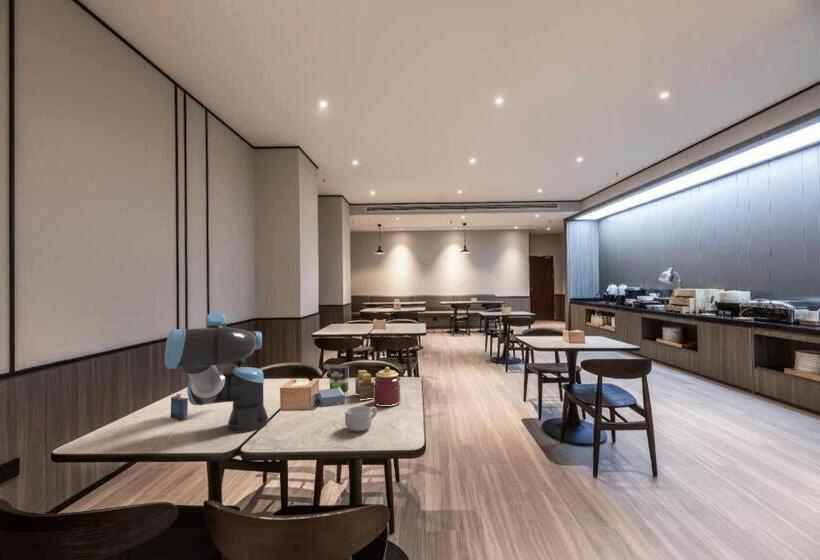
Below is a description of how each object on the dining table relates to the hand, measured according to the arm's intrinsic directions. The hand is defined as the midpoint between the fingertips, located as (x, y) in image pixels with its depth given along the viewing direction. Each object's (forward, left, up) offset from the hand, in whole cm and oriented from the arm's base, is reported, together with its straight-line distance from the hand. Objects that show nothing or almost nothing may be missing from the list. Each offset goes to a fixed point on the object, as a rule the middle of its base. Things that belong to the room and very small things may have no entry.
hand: (221, 375), depth 171 cm
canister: (-23, -75, -16) cm, 80 cm away
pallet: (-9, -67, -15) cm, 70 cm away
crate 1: (-5, -67, -7) cm, 68 cm away
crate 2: (-13, -67, -7) cm, 69 cm away
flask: (-9, +16, -16) cm, 24 cm away
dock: (-9, -50, -15) cm, 53 cm away
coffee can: (+5, -57, -16) cm, 59 cm away
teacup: (-50, -56, -16) cm, 77 cm away
